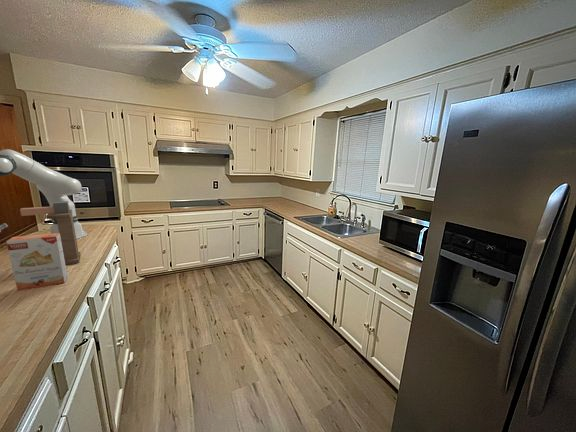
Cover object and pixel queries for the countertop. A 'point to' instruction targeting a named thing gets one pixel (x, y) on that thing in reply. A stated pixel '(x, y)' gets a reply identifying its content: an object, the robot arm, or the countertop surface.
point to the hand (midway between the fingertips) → (3, 227)
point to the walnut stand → (67, 237)
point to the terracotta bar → (47, 209)
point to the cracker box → (37, 260)
